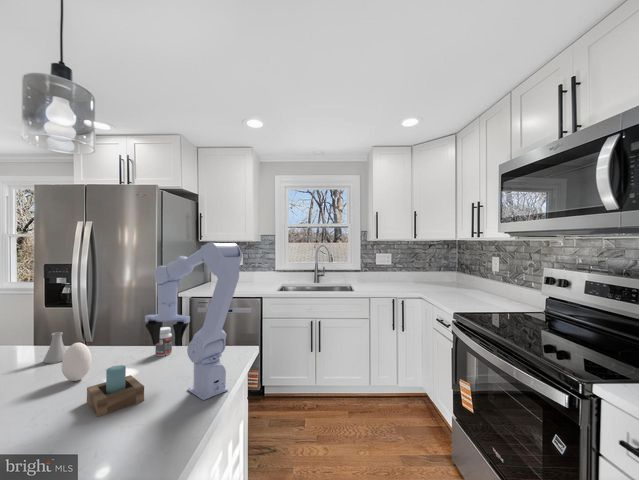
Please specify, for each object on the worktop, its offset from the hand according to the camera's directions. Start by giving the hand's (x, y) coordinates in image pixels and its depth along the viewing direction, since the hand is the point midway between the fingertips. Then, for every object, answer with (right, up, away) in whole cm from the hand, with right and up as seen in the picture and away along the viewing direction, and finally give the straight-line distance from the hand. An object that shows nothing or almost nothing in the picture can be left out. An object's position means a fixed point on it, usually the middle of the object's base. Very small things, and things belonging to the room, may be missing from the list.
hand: (167, 344), depth 100 cm
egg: (-27, -10, -3) cm, 29 cm away
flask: (-47, -11, +13) cm, 50 cm away
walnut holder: (-6, -10, -16) cm, 20 cm away
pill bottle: (-11, -11, +20) cm, 26 cm away
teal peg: (-6, -10, -16) cm, 20 cm away
